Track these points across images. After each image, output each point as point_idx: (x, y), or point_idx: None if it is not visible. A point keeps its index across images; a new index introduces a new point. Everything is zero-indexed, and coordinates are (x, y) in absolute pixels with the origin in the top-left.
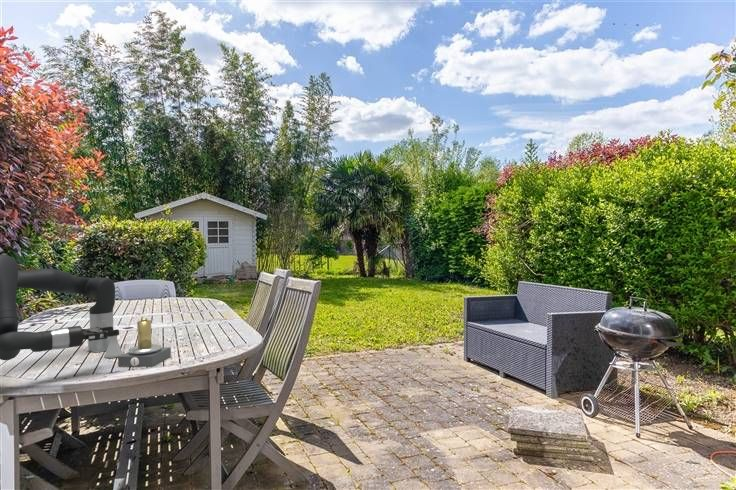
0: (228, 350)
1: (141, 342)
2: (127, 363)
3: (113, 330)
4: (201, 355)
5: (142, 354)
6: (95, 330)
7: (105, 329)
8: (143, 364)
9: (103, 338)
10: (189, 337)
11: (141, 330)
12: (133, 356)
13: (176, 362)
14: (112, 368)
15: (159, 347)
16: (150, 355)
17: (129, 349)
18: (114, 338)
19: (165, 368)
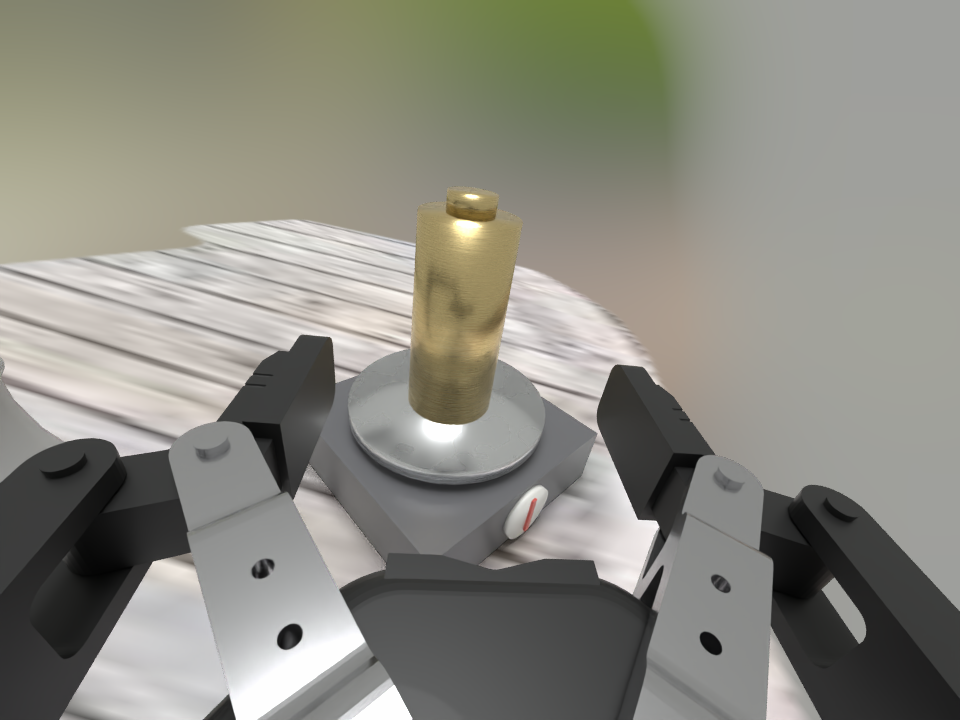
0: (519, 294)
1: (486, 379)
2: (482, 550)
3: (666, 404)
4: (523, 335)
5: None
6: (765, 643)
7: (301, 418)
8: (553, 493)
9: (831, 617)
10: (201, 262)
11: (500, 296)
12: (522, 491)
13: (570, 400)
14: None
15: (506, 364)
16: (567, 430)
17: (406, 457)
18: (2, 416)
19: None
